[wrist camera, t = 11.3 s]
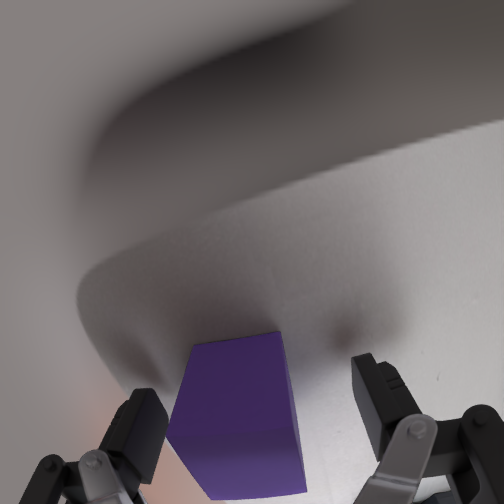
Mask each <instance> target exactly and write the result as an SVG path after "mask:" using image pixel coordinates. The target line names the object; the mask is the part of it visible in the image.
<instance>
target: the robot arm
mask: <svg viewBox="0 0 504 504" xmlns="http://www.w3.org/2000/svg"><path fill="white" fill-rule="evenodd" d="M351 367H352V387H353V393H354V397H355V401H356V403H357V406H358V409H359V412H360V414H361V417H362V420H363V423H364V425H365V428H366V431H367V434H368V437H369V439H370V442H371V445H372V448H373V451H374V454H375V457H376V460H377V462H379V461H380V463H379V465H378V467H377V469H376V471H375V473H374V474H373V476H370V477H369V478H368V480H367V481H366V483H365V485H364V486H363V488H362V490H361V492H360V493H359V495H358V497H357V498H356V500H355V502H354V503H353V504H412V501H413V499H414V497H415V495H416V492H417V490H418V487H419V484H420V481H421V479H422V478H426V477H434V476H441V475H446V478H447V481H448V483H449V486H450V488H451V491H452V494H453V497H454V499H455V502H456V504H504V422H503V421H502V419H501V418H500V416H499V414H498V413H497V412H496V410H495V409H494V408H492V407H491V406H488V405H482V404H481V405H475V406H472V407H470V408H469V409H467V410H466V411H465V413H464V414H463V416H462V418H459V419H453V420H446V421H436V420H434V419H433V418H432V417H430V416H428V415H425V414H423V413H422V412H421V410H420V409H419V407H418V405H417V404H416V402H415V400H414V398H413V397H412V395H411V393H410V391H409V390H408V388H407V386H405V383H404V381H403V380H402V378H401V376H400V375H399V373H398V371H397V370H396V368H395V367H394V366H392V365H391V364H389V363H388V362H386V361H384V362H381V363H378V364H377V363H376V361H375V360H374V358H373V356H372V354H371V353H366V354H362V355H359V356H355V357H352V358H351ZM168 425H169V418H168V414H167V412H166V410H165V408H164V407H163V405H162V403H161V401H160V399H159V398H158V396H157V394H156V392H155V390H154V389H152V388H141V389H135V390H134V391H133V393H132V395H131V397H130V399H129V400H126V401H125V402H124V403H123V404H122V405H121V406H120V407H119V408H118V410H117V412H116V414H115V416H114V418H113V420H112V422H111V425H110V426H109V428H108V430H107V432H106V434H105V436H104V438H103V440H102V442H101V444H100V446H99V448H98V450H91V451H89V452H87V453H85V454H84V455H83V456H82V457H81V458H80V461H77V462H67V463H65V462H64V460H63V459H62V458H61V457H60V456H58V455H55V454H51V455H48V456H46V457H44V458H43V459H42V460H41V461H40V462H39V464H38V466H37V468H36V470H35V472H34V474H33V476H32V478H31V480H30V482H29V484H28V486H27V488H26V490H25V492H24V494H23V496H22V498H21V500H20V502H19V504H58V501H59V499H60V496H61V495H62V496H63V497H65V498H66V499H67V500H66V503H65V504H148V503H147V501H146V500H145V498H144V496H143V494H142V492H141V491H140V490H139V489H138V488H139V485H140V483H142V484H151V482H152V478H153V475H154V471H155V468H156V465H157V462H158V458H159V455H160V452H161V448H162V445H163V442H164V439H165V435H166V432H167V428H168Z"/></svg>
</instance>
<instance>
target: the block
mask: <svg viewBox="0 0 504 504" xmlns="http://www.w3.org/2000/svg"><path fill="white" fill-rule="evenodd" d="M166 438H167V440H168V441H169V443H170V444H171V446H172V447H173V449H174V450H175V452H176V453H177V455H178V456H179V458H180V459H181V461H182V462H183V463H184V465H185V466H186V467H187V469H188V470H189V472H190V473H191V475H192V476H193V477H194V479H195V480H196V481H197V483H198V484H199V485H200V487H201V488H202V489H203V491H204V492H205V493H206V494H207V496H208V497H209V498H210V499H211V500H241V499H256V498H268V497H277V496H285V495H292V494H299V493H305V492H307V486H306V478H305V471H304V464H303V456H302V449H301V442H300V435H299V428H298V422H297V415H296V408H295V402H294V397H293V392H292V387H291V382H290V377H289V372H288V367H287V361H286V356H285V351H284V346H283V341H282V336H281V332H280V331H279V332H273V333H268V334H263V335H257V336H251V337H245V338H239V339H233V340H227V341H220V342H213V343H206V344H199V345H194V346H193V349H192V352H191V355H190V358H189V361H188V364H187V367H186V371H185V374H184V377H183V380H182V383H181V386H180V390H179V393H178V396H177V399H176V402H175V406H174V409H173V412H172V415H171V419H170V422H169V425H168V428H167V432H166Z"/></svg>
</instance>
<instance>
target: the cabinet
mask: <svg viewBox="0 0 504 504" xmlns="http://www.w3.org/2000/svg"><path fill="white" fill-rule="evenodd" d="M422 504H456V502H455V499H454V497H453V494H452V491H449V492H443V493H437V494H434V495H433V496H431V497H430V498H429V499H427V500H426V501H425V502H423V503H422Z"/></svg>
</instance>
